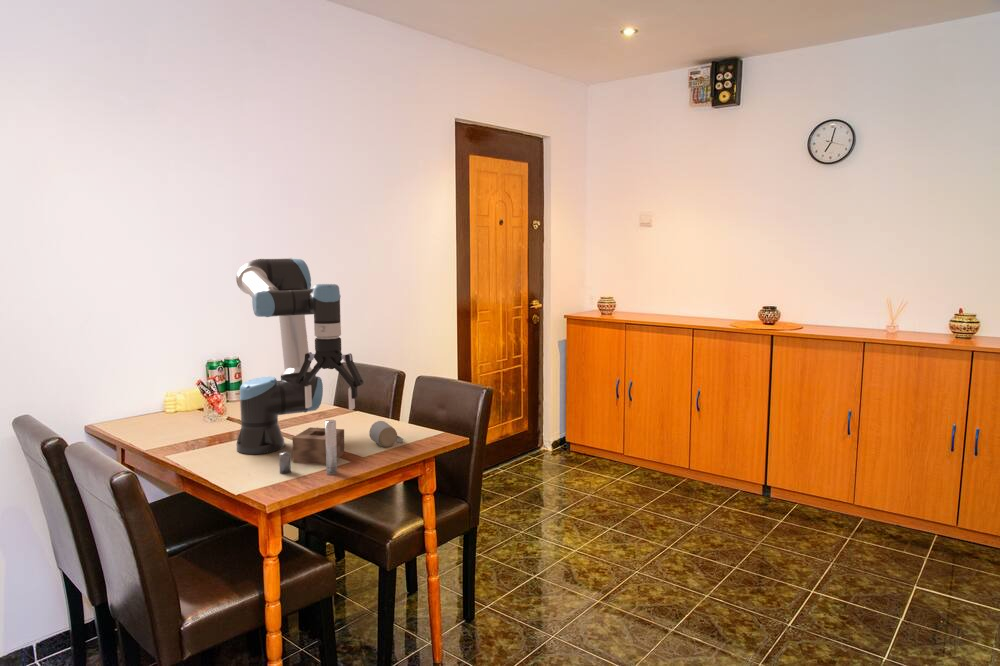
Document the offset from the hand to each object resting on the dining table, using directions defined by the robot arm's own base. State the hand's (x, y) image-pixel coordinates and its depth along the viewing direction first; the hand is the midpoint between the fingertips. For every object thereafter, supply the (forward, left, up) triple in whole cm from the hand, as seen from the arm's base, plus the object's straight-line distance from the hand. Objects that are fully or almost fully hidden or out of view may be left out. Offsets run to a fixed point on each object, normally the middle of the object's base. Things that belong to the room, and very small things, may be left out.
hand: (330, 408), depth 198 cm
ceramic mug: (+6, +31, -20) cm, 38 cm away
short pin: (-14, -2, -20) cm, 25 cm away
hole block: (-10, +13, -20) cm, 26 cm away
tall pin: (0, 0, -20) cm, 20 cm away
